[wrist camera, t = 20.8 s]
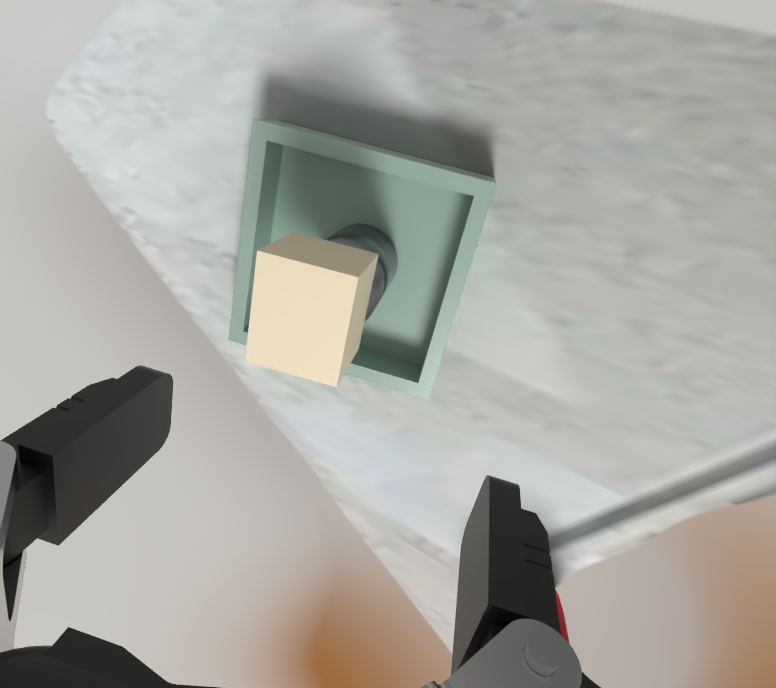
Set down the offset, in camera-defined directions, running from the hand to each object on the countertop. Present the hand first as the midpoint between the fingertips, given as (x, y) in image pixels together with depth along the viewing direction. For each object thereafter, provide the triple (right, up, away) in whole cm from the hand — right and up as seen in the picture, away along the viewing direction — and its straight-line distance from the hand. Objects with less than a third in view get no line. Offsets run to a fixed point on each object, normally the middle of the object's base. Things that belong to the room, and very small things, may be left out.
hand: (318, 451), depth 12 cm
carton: (-2, +6, +17) cm, 18 cm away
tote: (0, +9, +24) cm, 26 cm away
